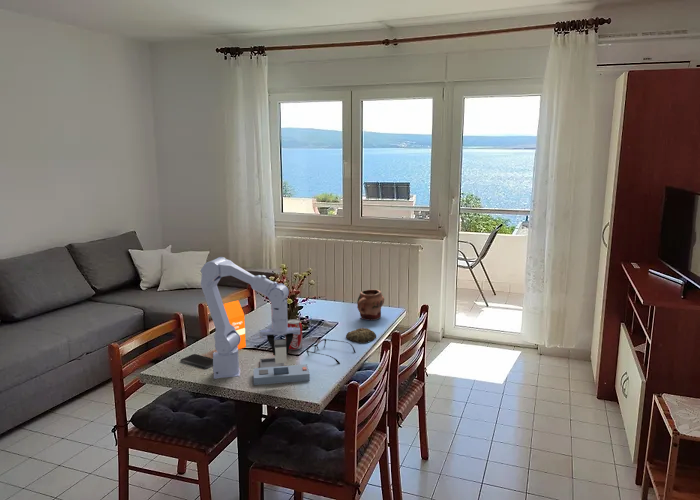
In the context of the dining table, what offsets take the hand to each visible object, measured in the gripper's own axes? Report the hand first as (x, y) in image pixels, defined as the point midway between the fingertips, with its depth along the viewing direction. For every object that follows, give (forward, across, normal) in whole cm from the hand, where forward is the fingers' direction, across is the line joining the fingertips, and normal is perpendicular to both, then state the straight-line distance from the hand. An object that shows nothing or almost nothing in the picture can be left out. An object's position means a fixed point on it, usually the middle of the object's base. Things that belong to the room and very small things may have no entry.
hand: (280, 353), depth 195 cm
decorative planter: (+10, +47, +63) cm, 79 cm away
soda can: (+10, +7, +30) cm, 32 cm away
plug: (+3, 0, 0) cm, 3 cm away
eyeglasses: (+10, +22, +20) cm, 31 cm away
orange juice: (+10, -19, +36) cm, 42 cm away
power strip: (+10, 0, 0) cm, 10 cm away
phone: (+10, -31, +22) cm, 39 cm away
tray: (+10, -3, +12) cm, 16 cm away
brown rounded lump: (+10, +38, +37) cm, 54 cm away
